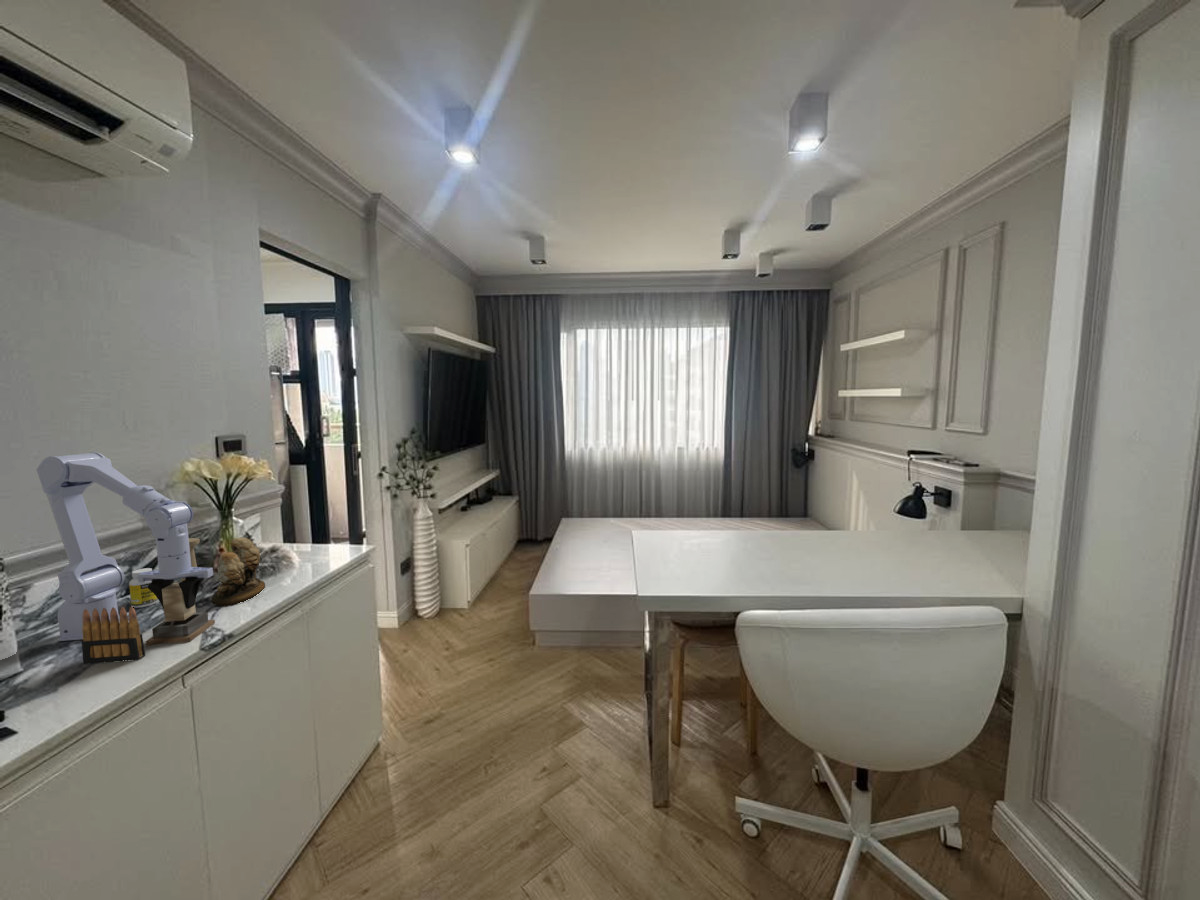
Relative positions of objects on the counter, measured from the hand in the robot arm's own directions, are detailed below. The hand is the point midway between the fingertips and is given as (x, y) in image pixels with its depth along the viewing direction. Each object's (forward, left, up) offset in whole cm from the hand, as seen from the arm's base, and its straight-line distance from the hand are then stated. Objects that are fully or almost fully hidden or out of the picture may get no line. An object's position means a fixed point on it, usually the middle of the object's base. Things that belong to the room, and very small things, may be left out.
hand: (179, 607), depth 111 cm
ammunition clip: (-7, -10, -7) cm, 14 cm away
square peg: (0, 0, -2) cm, 2 cm away
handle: (-17, +31, -7) cm, 36 cm away
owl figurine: (0, +24, -7) cm, 25 cm away
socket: (0, 0, -7) cm, 7 cm away
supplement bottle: (-22, +21, -7) cm, 31 cm away
